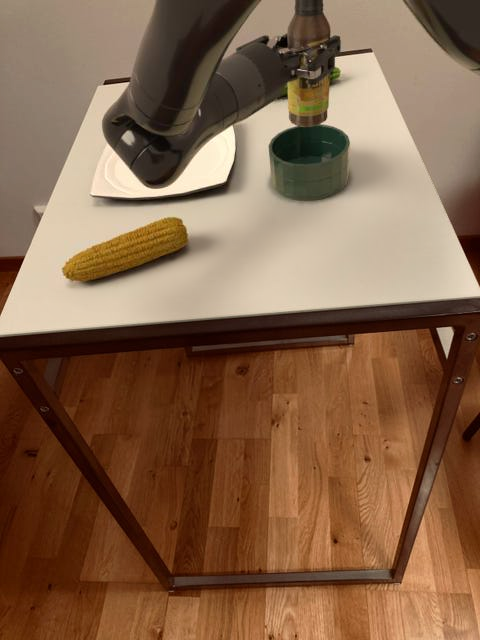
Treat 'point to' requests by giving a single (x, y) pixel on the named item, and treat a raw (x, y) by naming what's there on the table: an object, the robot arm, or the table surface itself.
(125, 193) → the plate
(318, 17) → the sauce bottle
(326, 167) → the pot
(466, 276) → the table surface
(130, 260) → the food
